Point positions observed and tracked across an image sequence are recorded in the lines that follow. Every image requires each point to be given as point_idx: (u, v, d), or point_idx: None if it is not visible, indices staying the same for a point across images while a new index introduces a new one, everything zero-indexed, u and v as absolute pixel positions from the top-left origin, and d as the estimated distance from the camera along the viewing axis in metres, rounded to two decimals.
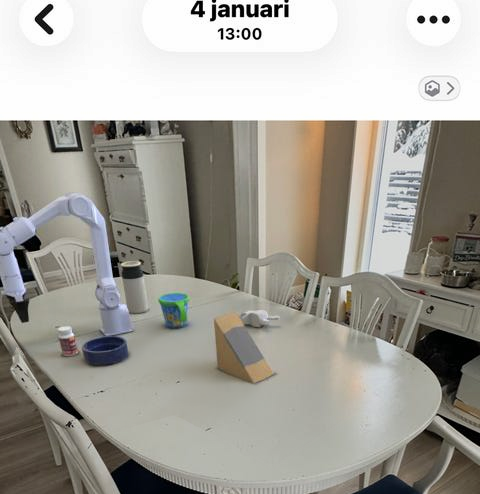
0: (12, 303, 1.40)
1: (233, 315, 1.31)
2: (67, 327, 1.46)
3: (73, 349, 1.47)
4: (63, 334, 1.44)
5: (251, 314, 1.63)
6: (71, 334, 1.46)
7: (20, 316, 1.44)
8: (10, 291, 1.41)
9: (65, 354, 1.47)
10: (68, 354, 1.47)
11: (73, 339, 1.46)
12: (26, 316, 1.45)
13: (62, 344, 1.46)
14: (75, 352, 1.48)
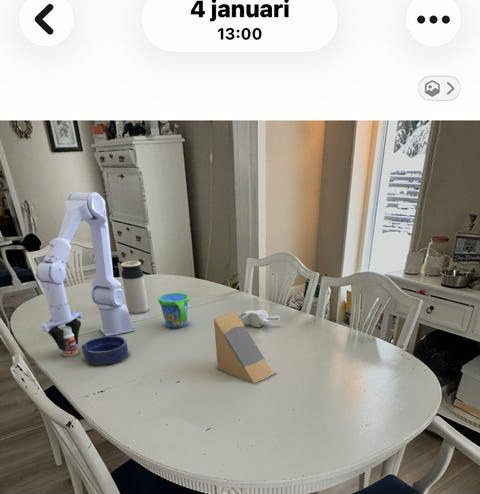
0: None
1: (233, 315, 1.31)
2: (67, 327, 1.46)
3: (73, 349, 1.47)
4: (63, 334, 1.44)
5: (251, 314, 1.63)
6: (71, 334, 1.46)
7: (57, 343, 1.45)
8: (51, 319, 1.42)
9: (65, 354, 1.47)
10: (68, 354, 1.47)
11: (73, 339, 1.46)
12: (61, 345, 1.45)
13: None
14: (75, 352, 1.48)
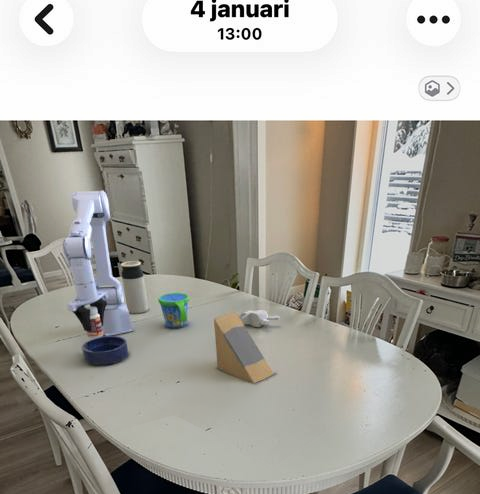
0: None
1: (233, 315, 1.31)
2: (92, 307, 1.39)
3: (99, 331, 1.40)
4: None
5: (251, 314, 1.63)
6: (97, 314, 1.39)
7: (82, 324, 1.38)
8: (77, 298, 1.35)
9: (90, 336, 1.40)
10: (94, 336, 1.40)
11: (99, 320, 1.39)
12: (87, 325, 1.38)
13: None
14: (101, 334, 1.41)
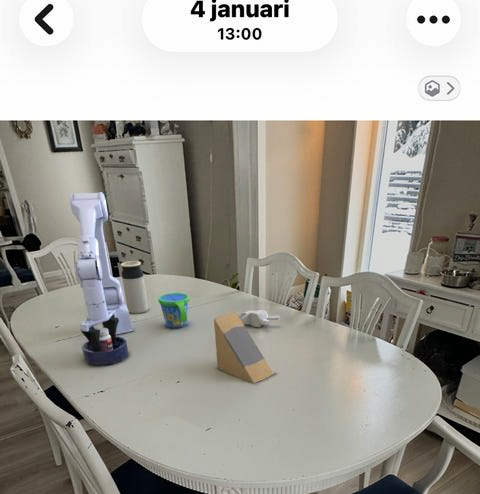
0: (81, 330, 1.36)
1: (233, 315, 1.31)
2: (103, 328, 1.42)
3: None
4: (101, 335, 1.40)
5: (251, 314, 1.63)
6: (108, 335, 1.42)
7: (91, 344, 1.40)
8: (89, 318, 1.37)
9: None
10: None
11: (110, 340, 1.42)
12: (96, 346, 1.39)
13: None
14: None
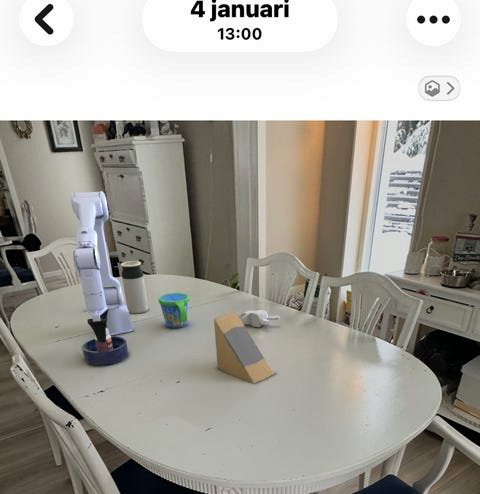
0: (89, 322, 1.33)
1: (233, 315, 1.31)
2: None
3: None
4: None
5: (251, 314, 1.63)
6: (108, 335, 1.42)
7: (97, 335, 1.37)
8: (90, 309, 1.35)
9: None
10: None
11: (110, 340, 1.42)
12: (103, 336, 1.38)
13: (99, 346, 1.41)
14: None
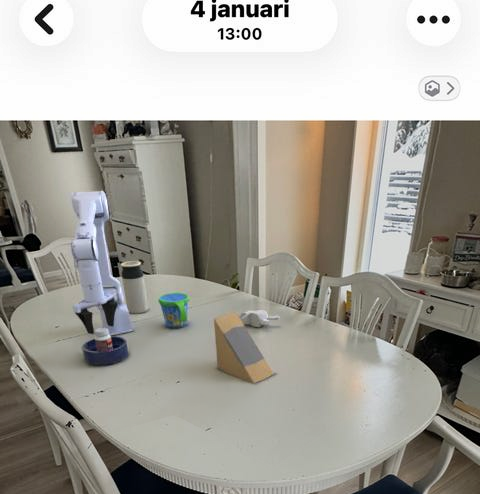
0: None
1: (233, 315, 1.31)
2: (103, 328, 1.42)
3: None
4: (101, 335, 1.40)
5: (251, 314, 1.63)
6: (108, 335, 1.42)
7: None
8: (104, 296, 1.37)
9: None
10: None
11: (110, 340, 1.42)
12: None
13: (99, 346, 1.41)
14: None
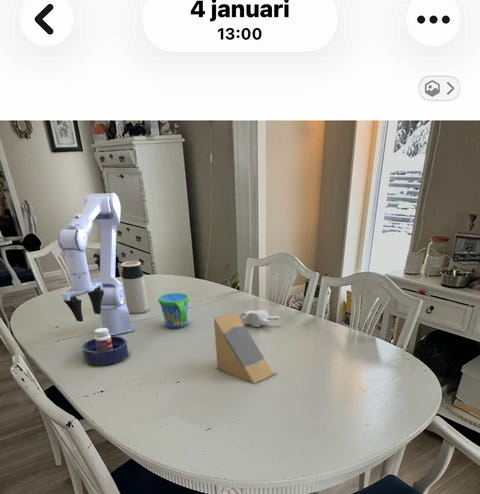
0: None
1: (233, 315, 1.31)
2: (103, 328, 1.42)
3: None
4: (101, 335, 1.40)
5: (251, 314, 1.63)
6: (108, 335, 1.42)
7: None
8: (91, 285, 1.43)
9: None
10: None
11: (110, 340, 1.42)
12: None
13: (99, 346, 1.41)
14: None
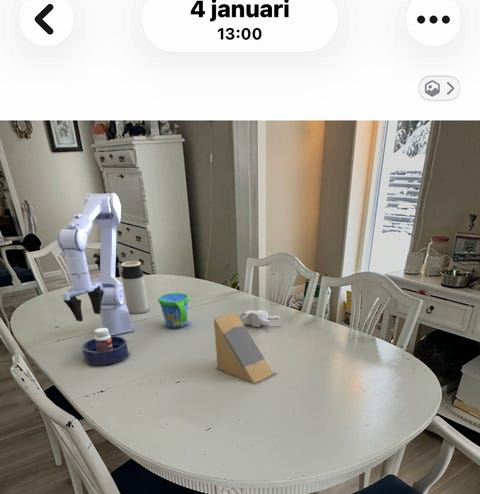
0: None
1: (233, 315, 1.31)
2: (103, 328, 1.42)
3: None
4: (101, 335, 1.40)
5: (251, 314, 1.63)
6: (108, 335, 1.42)
7: None
8: (91, 285, 1.43)
9: None
10: None
11: (110, 340, 1.42)
12: None
13: (99, 346, 1.41)
14: None
